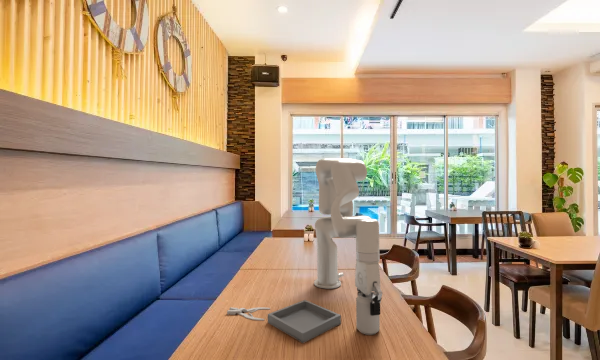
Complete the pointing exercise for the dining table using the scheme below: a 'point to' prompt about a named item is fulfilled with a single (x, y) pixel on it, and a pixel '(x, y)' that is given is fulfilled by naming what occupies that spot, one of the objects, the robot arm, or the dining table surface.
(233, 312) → the pliers
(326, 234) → the robot arm
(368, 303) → the can
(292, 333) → the parts tray
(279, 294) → the dining table surface
